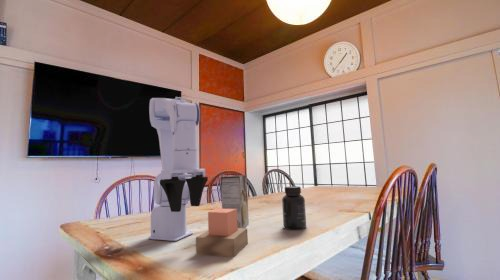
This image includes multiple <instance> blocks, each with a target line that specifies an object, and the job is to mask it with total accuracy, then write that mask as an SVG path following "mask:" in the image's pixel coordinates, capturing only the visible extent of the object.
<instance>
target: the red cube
mask: <svg viewBox="0 0 500 280" xmlns="http://www.w3.org/2000/svg"><path fill="white" fill-rule="evenodd" d="M207 221H208V224H207V225H208V226H207V227H208V228H207V229H208V230H207V231H208V232H209V235H221V236H229V235H231V234H232V233H234V232H236V231H238V222H237V209H222V208H216V209H213V210H210V211H208V212H207Z"/></svg>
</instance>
